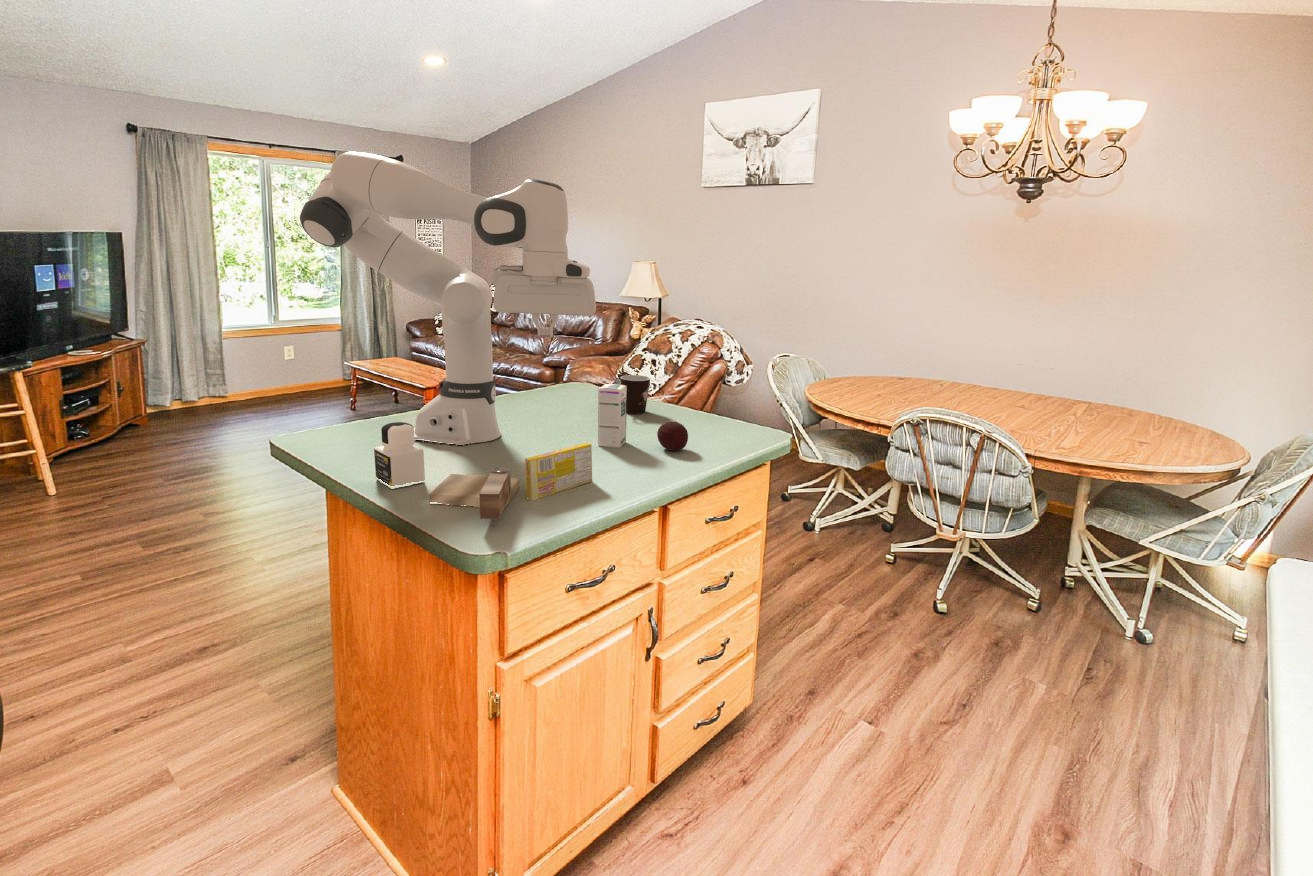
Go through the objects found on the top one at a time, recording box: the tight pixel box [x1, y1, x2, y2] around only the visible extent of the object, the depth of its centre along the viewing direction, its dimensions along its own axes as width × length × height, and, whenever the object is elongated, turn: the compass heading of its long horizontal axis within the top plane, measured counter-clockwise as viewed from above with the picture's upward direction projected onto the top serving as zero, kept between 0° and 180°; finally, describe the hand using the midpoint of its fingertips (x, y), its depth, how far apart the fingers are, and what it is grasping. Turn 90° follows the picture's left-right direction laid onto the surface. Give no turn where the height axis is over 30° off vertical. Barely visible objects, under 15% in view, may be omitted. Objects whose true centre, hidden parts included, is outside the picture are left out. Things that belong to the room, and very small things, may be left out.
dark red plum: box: [656, 421, 689, 452], centre depth 176 cm, size 7×8×7 cm
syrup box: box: [597, 383, 627, 449], centre depth 177 cm, size 6×6×14 cm
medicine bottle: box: [373, 421, 426, 486], centre depth 145 cm, size 7×7×12 cm
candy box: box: [524, 442, 593, 501], centre depth 145 cm, size 16×2×8 cm, turn 139°
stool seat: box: [428, 473, 521, 509], centre depth 141 cm, size 14×12×2 cm
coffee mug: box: [620, 374, 651, 415], centre depth 211 cm, size 12×9×10 cm
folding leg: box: [479, 467, 512, 520], centre depth 131 cm, size 14×4×4 cm, turn 3°
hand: (545, 336), depth 148 cm, fingers closed
